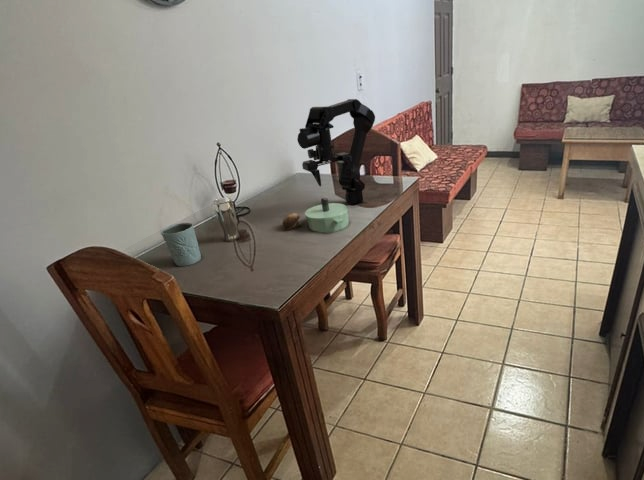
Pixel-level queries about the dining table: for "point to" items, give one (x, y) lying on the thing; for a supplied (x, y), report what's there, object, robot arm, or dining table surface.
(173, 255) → the embossed blue planter
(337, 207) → the lid
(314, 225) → the pot
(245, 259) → the dining table surface
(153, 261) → the dining table surface
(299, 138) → the robot arm
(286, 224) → the mushroom
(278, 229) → the dining table surface
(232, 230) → the beer glass
